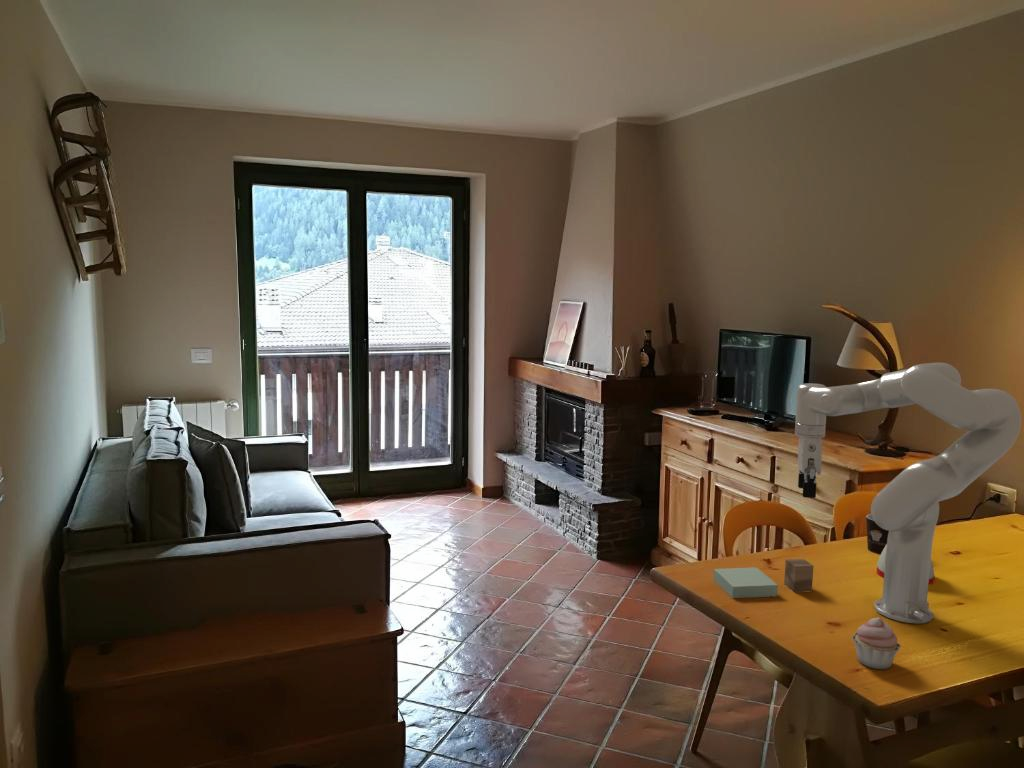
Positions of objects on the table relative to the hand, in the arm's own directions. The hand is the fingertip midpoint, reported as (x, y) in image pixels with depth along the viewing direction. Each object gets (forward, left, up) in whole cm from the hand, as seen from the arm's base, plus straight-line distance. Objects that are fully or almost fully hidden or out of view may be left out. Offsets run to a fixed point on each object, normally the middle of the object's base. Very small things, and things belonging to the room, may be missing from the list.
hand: (806, 492), depth 203 cm
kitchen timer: (-3, -28, -24) cm, 37 cm away
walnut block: (-8, +6, -23) cm, 25 cm away
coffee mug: (+15, -34, -23) cm, 44 cm away
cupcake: (-47, +10, -23) cm, 54 cm away
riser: (-7, +20, -23) cm, 31 cm away
